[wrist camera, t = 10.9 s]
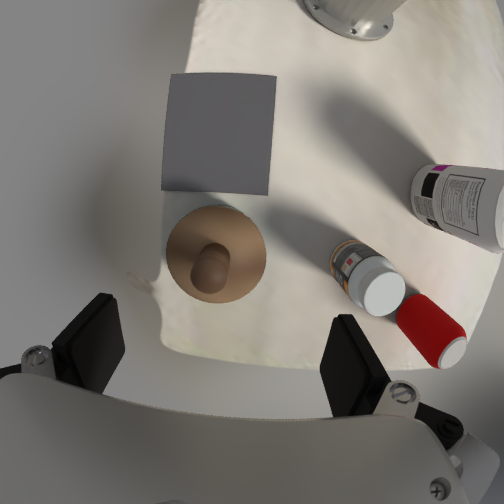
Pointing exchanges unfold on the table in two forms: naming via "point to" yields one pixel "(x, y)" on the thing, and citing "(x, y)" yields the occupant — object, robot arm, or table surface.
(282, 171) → the table surface
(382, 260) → the pill bottle
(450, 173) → the supplement can
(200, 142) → the mat
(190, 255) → the lid
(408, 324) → the beverage can
